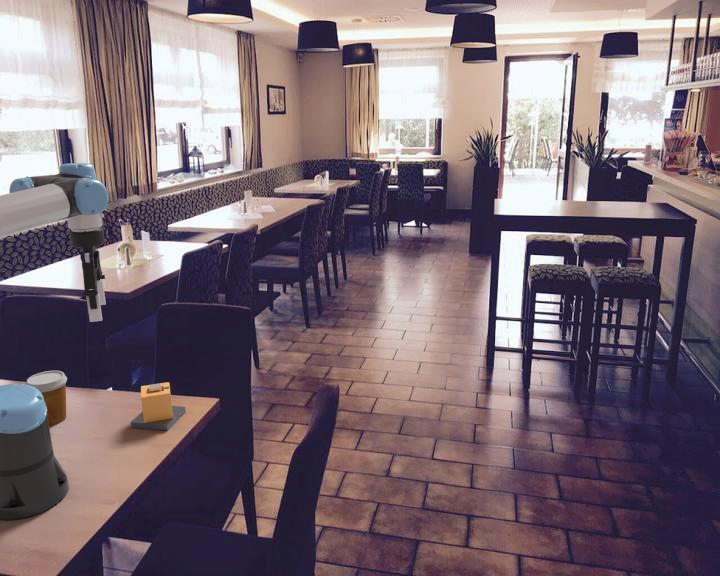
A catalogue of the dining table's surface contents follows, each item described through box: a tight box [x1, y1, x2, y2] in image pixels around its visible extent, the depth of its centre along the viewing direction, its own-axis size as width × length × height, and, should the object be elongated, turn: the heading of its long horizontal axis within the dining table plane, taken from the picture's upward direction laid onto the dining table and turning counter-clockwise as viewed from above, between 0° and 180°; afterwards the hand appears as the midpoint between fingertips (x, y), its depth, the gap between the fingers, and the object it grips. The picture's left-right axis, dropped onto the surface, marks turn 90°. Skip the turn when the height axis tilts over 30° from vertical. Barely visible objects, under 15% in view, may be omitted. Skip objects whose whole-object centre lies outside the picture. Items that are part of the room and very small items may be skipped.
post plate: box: [130, 383, 187, 432], centre depth 154 cm, size 10×10×10 cm
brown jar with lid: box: [25, 370, 68, 426], centre depth 155 cm, size 10×10×12 cm
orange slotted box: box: [140, 382, 173, 423], centre depth 154 cm, size 7×7×7 cm
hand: (98, 312), depth 150 cm, fingers open, 13 cm apart
